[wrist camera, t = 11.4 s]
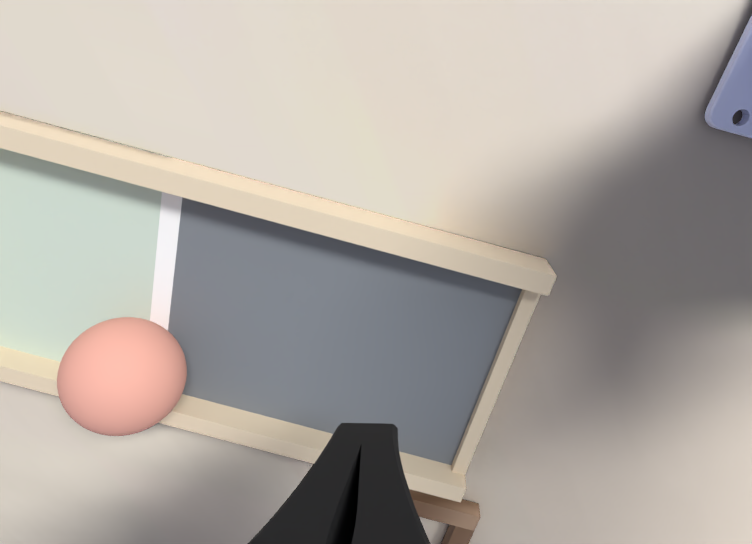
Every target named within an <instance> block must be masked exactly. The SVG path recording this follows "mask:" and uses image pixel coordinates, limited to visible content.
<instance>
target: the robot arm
mask: <svg viewBox="0 0 752 544" xmlns="http://www.w3.org/2000/svg"><path fill="white" fill-rule="evenodd" d="M738 110H741V111H742V114H743V116H742V119H741V120H740V122H739V123H737V124H733V121H732V118H733V115H734V114H735V113H736V111H738ZM705 121H706V122H707V124H708V125H709V126H711V127H713V128H716V129H719V130H723V131H727V132H730V133H734V134H737V135H741V136H745V137H748V138H752V15H751V17H750V19H749V21H748V23H747V26H746V28H745V30H744V32H743V34H742V36H741V38H740V40H739V42H738V44H737V46H736V48H735V50H734V52H733V55H732V57H731V59H730V61H729V63H728V65H727V67H726V69H725V71H724V73H723V75H722V77H721V79H720V81H719V83H718V86H717V88H716V90H715V92H714V94H713V96H712V98H711V100H710V102H709V104H708V106H707V108H706V112H705ZM248 544H430V542H429V540H428V537H427V535H426V533H425V530H424V528H423V526H422V523H421V521H420V518H419V516H418V513H417V511H416V508H415V505H414V503H413V500H412V497H411V494H410V491H409V488H408V484H407V481H406V478H405V475H404V471H403V467H402V463H401V458H400V454H399V445H398V428H397V427H396V426H395V425H394V424H385V423H341V424H340V425H339V426H338V427H337V428H336V430H335V432H334V434H333V435H332V437H331V439H330V440H329V442H328V443H327V445H326V447H325V448H324V450H323V451H322V453H321V454H320V456H319V457H318V459H317V460H316V462H315V463H314V465H313V466H312V467H311V469H310V470H309V471H308V473H307V474H306V476H305V477H304V478H303V480H302V481H301V482H300V484H299V485H298V486H297V488H296V489H295V490H294V492H293V493H292V494H291V495H290V497H289V498H288V499H287V500H286V501H285V503H284V504H283V505H282V506H281V507H280V509H279V510H278V511H277V512H276V514H275V515H274V516H273V517H272V518H271V519H270V521H269V522H268V523H267V524H266V525H265V526H264V527H263V528H262V529H261V531H260V532H259V533H258V534H257V535H256V536H255V537H254V538H253V539H252V540H251V541H250V542H249V543H248Z"/></svg>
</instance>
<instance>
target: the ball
mask: <svg viewBox="0 0 752 544" xmlns="http://www.w3.org/2000/svg"><path fill="white" fill-rule="evenodd" d="M186 378H187V366H186V360H185V356H184V353H183V350H182V348H181V346H180V345H179V343H178V342H177V340H176V339H175V338H174V336H173V335H172V334H171V333H170V332H169V331H167V330H166V329H165V328H163V327H162V326H160V325H158V324H156V323H154V322H152V321H149V320H146V319H141V318H134V317H121V318H114V319H109V320H106V321H103V322H100V323H98V324H96V325H94V326H92V327H90V328H88V329H87V330H86V331H84V332H83V333H81V334H80V335H79V336H78V337H77V338H76V339H75V340H74V341H73V342H72V343H71V345H70V346H69V347H68V349H67V350H66V352H65V354H64V355H63V357H62V360H61V362H60V366H59V369H58V375H57V389H58V395H59V398H60V401H61V403H62V405H63V407H64V409H65V410H66V412H67V413H68V414H69V416H70V417H71V418H72V419H73V420H74V421H75V422H77V423H78V424H79V425H81V426H82V427H84V428H86V429H88V430H90V431H92V432H95V433H99V434H102V435H108V436H123V435H130V434H134V433H138V432H141V431H143V430H146V429H148V428H150V427H152V426H153V425H155V424H157V423H158V422H160V421H161V420H162V419H164V418H165V417H166V416H167V415H168V414H169V413H170V412H171V411H172V410H173V408H174V407H175V405H176V404H177V402H178V401H179V399H180V397H181V395H182V393H183V390H184V387H185V383H186Z"/></svg>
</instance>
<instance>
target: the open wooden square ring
mask: <svg viewBox="0 0 752 544" xmlns="http://www.w3.org/2000/svg"><path fill="white" fill-rule="evenodd" d="M409 491H410V494H411V497H412V500H413V503H414V505H415V508H416V511H417V513H418V516H419V517H423V518H427V519H431V520H434V521H438V522H442V523H446V524H450V525H449V527H448V529H447V532H446V534H445V536H444V539H443V541H442V543H441V544H468V543H469V541H470V539H471V537H472V535H473V532H474V530H475V528H476V526H477V523H478V521H479V519H480V511H479V504H478V503H474V502H470V501H467V500H463V499H462V501H461V503H460V502H457V501H453V500H449V499H445V498H442V497H438V496H434V495H430V494H426V493H423V492H419V491H415V490H411V489H409Z"/></svg>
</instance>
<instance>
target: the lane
mask: <svg viewBox="0 0 752 544" xmlns="http://www.w3.org/2000/svg"><path fill="white" fill-rule="evenodd" d="M556 278H557V275H556V274H555V272H554V271H553V269H552V268H551V266H550V265H549V263H548V262H547V260H546V259H544V258H540V257H537V256H533V255H529V254H526V253H522V252H518V251H515V250H511V249H507V248H504V247H500V246H496V245H493V244H489V243H485V242H481V241H478V240H474V239H470V238H467V237H463V236H459V235H456V234H452V233H448V232H445V231H441V230H437V229H434V228H430V227H426V226H423V225H419V224H415V223H411V222H408V221H404V220H400V219H397V218H393V217H389V216H386V215H382V214H378V213H375V212H371V211H367V210H364V209H360V208H356V207H353V206H349V205H345V204H342V203H338V202H334V201H330V200H327V199H323V198H319V197H316V196H312V195H308V194H305V193H301V192H297V191H294V190H290V189H286V188H283V187H279V186H275V185H272V184H268V183H264V182H260V181H257V180H253V179H249V178H246V177H242V176H238V175H235V174H231V173H227V172H224V171H220V170H216V169H213V168H209V167H205V166H202V165H198V164H194V163H190V162H187V161H183V160H179V159H176V158H172V157H168V156H165V155H161V154H157V153H154V152H150V151H146V150H143V149H139V148H135V147H132V146H128V145H124V144H121V143H117V142H113V141H109V140H106V139H102V138H98V137H95V136H91V135H87V134H84V133H80V132H76V131H73V130H69V129H65V128H62V127H58V126H54V125H51V124H47V123H43V122H39V121H36V120H32V119H28V118H25V117H21V116H17V115H14V114H10V113H6V112H3V111H0V381H1V382H5V383H9V384H13V385H17V386H20V387H24V388H28V389H32V390H36V391H39V392H43V393H47V394H51V395H55V396H58V397H59V395H58V389H57V375H58V369H59V366H60V362H61V360H62V357H63V355H64V354H65V352H66V350H67V349H68V347H69V346H70V345H71V343H72V342H73V341H74V340H75V339H76V338H77V337H78V336H79V335H80V334H81V333H83V332H84V331H86V330H87V329H88V328H90V327H92V326H94V325H96V324H98V323H100V322H103V321H106V320H109V319H114V318H121V317H134V318H141V319H146V320H149V321H152V322H154V323H156V324H158V325H160V326H162V327H163V328H165V329H166V330H167V331H169V332H170V333H171V334H172V335H173V336H174V338H175V339H176V340H177V342H178V343H179V345H180V346H181V348H182V350H183V353H184V356H185V360H186V366H187V378H186V383H185V387H184V390H183V393H182V395H181V397H180V399H179V401H178V402H177V404H176V405H175V407H174V408H173V410H172V411H171V412H170V413H169V414H168V415H167V416H166V417H165V418H164V419H162V420H161V421H160V422H158V423H161V424H165V425H168V426H172V427H176V428H180V429H184V430H187V431H191V432H195V433H199V434H202V435H206V436H210V437H214V438H218V439H221V440H225V441H229V442H233V443H237V444H240V445H244V446H248V447H252V448H256V449H259V450H263V451H267V452H271V453H275V454H278V455H282V456H286V457H290V458H294V459H297V460H301V461H305V462H309V463H313V464H314V463H315V462H316V460H317V459H318V457H319V456H320V454H321V453H322V451H323V450H324V448H325V447H326V445H327V443H328V442H329V440H330V439H331V437H332V435H333V434H334V432H335V430H336V428H337V427H338V426H339V425H340V424H341V423H385V424H394V425H395V426H396V427H397V428H398V445H399V454H400V458H401V463H402V467H403V471H404V475H405V478H406V481H407V484H408V488H409V489H411V490H415V491H419V492H423V493H426V494H430V495H434V496H438V497H442V498H445V499H449V500H453V501H457V502H460V503H461V501H462V498H463V496H464V494H465V491H466V480H465V474H466V472H467V469H468V467H469V464H470V462H471V460H472V457H473V455H474V453H475V450H476V448H477V445H478V443H479V441H480V438H481V436H482V433H483V431H484V429H485V426H486V424H487V422H488V419H489V417H490V414H491V412H492V410H493V407H494V405H495V402H496V400H497V398H498V395H499V393H500V391H501V388H502V386H503V383H504V381H505V379H506V376H507V374H508V371H509V369H510V367H511V364H512V362H513V360H514V357H515V355H516V352H517V350H518V348H519V345H520V343H521V340H522V338H523V336H524V333H525V331H526V329H527V326H528V324H529V321H530V319H531V317H532V314H533V312H534V310H535V307H536V305H537V302H538V300H539V298H540V295H541V294H542V295H546V296H549V294H550V292H551V290H552V287H553V285H554V283H555V280H556Z"/></svg>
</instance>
